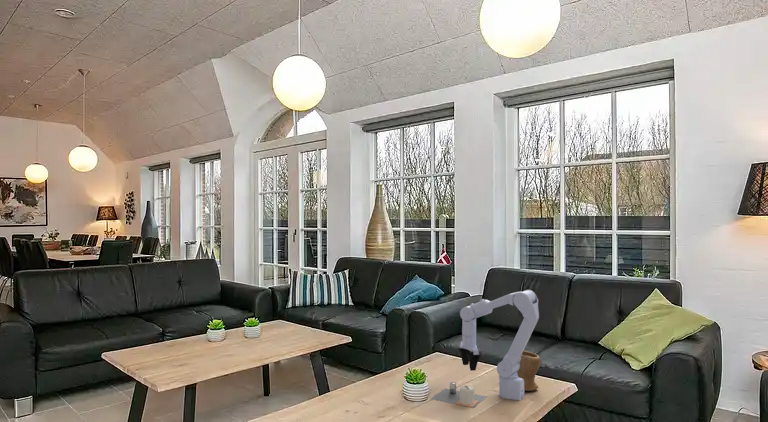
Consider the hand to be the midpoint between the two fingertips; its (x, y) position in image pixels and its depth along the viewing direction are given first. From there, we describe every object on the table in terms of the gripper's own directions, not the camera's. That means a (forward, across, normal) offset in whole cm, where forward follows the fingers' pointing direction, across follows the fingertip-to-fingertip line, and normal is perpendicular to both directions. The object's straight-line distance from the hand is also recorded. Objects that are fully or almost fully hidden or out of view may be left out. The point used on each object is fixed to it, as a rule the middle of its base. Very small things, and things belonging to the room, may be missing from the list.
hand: (469, 367), depth 213 cm
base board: (+9, +10, -9) cm, 16 cm away
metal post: (+8, +5, -9) cm, 13 cm away
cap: (+8, +16, -8) cm, 20 cm away
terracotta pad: (+8, +16, -8) cm, 20 cm away
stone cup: (+10, +1, +24) cm, 26 cm away
